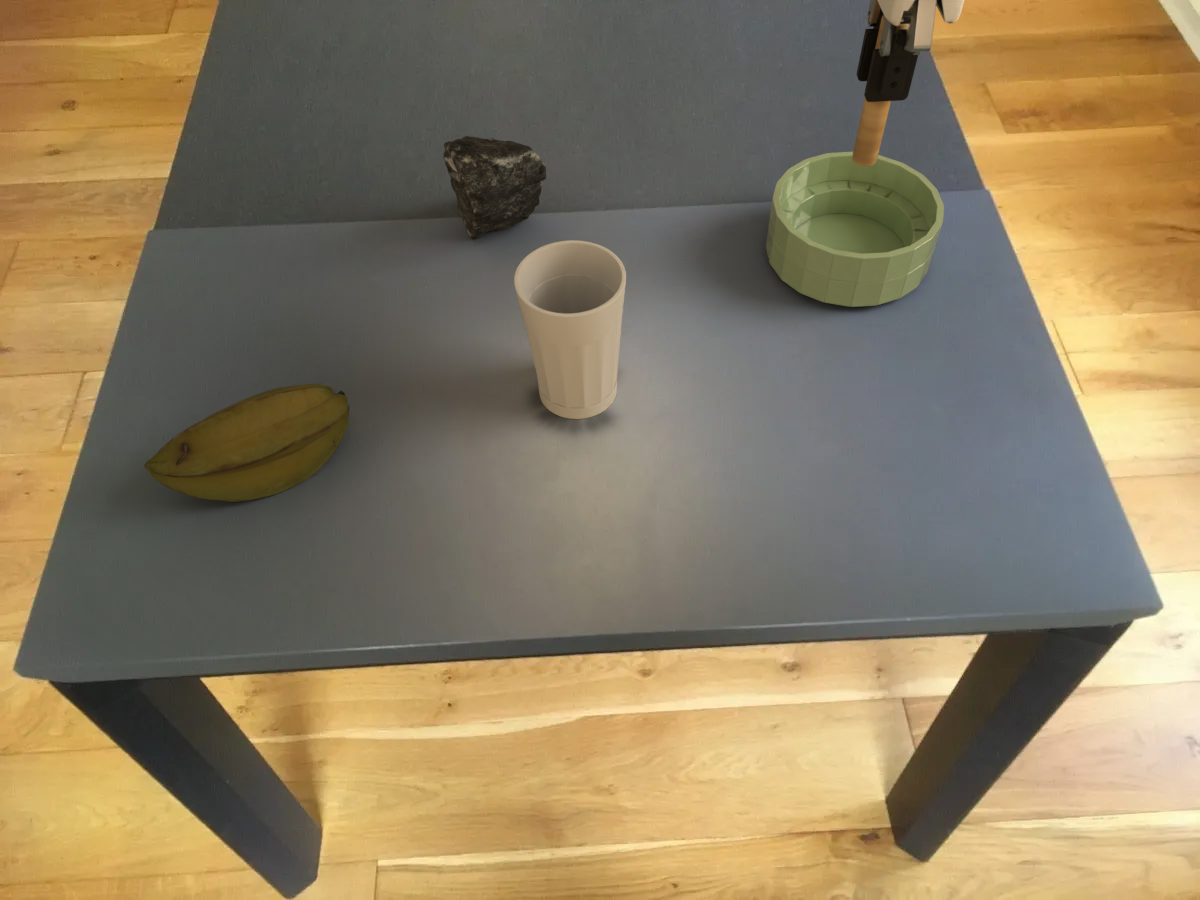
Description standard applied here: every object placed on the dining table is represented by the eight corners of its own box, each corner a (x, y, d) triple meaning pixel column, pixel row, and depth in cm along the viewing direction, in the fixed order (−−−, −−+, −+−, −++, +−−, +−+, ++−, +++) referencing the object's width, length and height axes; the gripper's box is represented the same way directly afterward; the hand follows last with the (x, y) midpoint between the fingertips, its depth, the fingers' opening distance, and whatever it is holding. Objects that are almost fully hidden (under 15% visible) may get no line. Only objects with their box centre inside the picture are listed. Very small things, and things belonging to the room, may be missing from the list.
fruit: (306, 540, 70) (280, 487, 65) (161, 506, 73) (124, 452, 67) (371, 422, 77) (351, 365, 72) (236, 394, 79) (207, 337, 74)
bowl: (931, 218, 90) (948, 163, 85) (921, 324, 82) (938, 269, 77) (779, 196, 93) (786, 142, 88) (753, 296, 84) (760, 242, 80)
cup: (645, 376, 79) (647, 263, 70) (592, 442, 75) (586, 331, 66) (564, 340, 82) (555, 227, 72) (509, 401, 78) (491, 290, 68)
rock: (489, 262, 88) (475, 170, 80) (441, 225, 92) (423, 133, 84) (554, 223, 91) (547, 130, 83) (506, 189, 95) (494, 96, 87)
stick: (873, 151, 80) (906, 10, 70) (879, 166, 79) (913, 24, 69) (849, 152, 80) (879, 11, 70) (854, 167, 79) (885, 26, 69)
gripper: (1045, -130, 55) (958, 149, 70) (966, -232, 65) (904, 31, 79) (912, -123, 55) (853, 154, 69) (854, -227, 65) (813, 36, 79)
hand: (881, 87), depth 74 cm, fingers closed on stick, 2 cm apart
